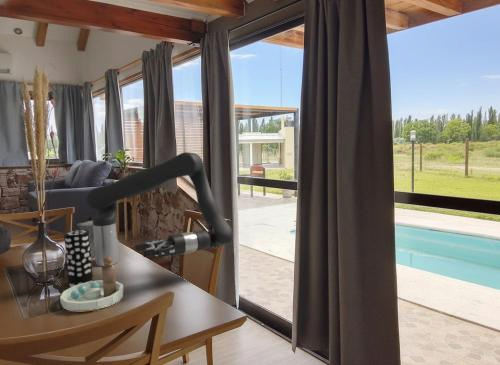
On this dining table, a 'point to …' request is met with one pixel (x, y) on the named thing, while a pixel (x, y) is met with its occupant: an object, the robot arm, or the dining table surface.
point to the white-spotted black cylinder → (78, 257)
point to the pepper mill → (108, 277)
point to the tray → (89, 296)
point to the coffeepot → (89, 226)
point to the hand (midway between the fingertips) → (139, 251)
